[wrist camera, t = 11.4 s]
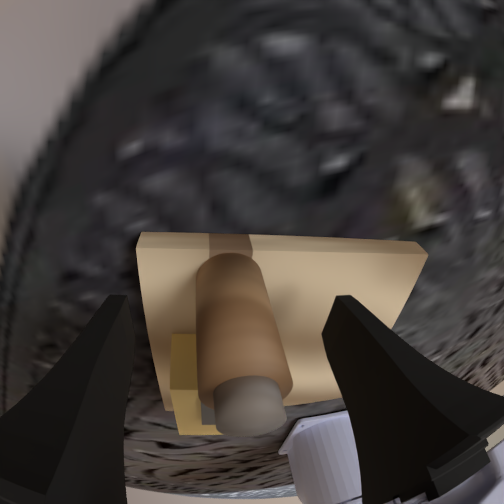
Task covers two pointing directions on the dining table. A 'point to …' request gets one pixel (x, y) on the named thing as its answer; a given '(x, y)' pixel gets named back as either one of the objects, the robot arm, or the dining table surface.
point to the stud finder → (188, 389)
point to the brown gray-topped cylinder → (239, 348)
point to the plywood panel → (277, 292)
